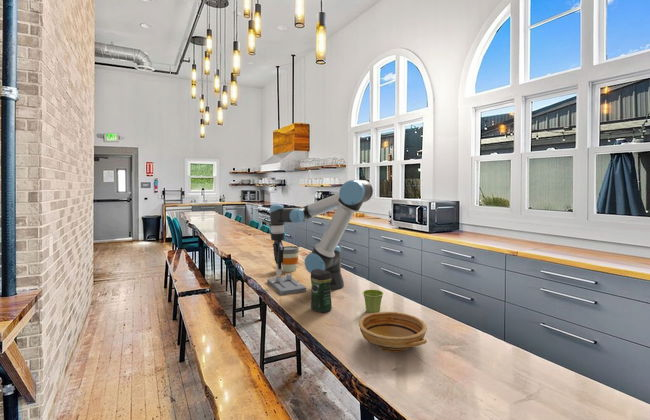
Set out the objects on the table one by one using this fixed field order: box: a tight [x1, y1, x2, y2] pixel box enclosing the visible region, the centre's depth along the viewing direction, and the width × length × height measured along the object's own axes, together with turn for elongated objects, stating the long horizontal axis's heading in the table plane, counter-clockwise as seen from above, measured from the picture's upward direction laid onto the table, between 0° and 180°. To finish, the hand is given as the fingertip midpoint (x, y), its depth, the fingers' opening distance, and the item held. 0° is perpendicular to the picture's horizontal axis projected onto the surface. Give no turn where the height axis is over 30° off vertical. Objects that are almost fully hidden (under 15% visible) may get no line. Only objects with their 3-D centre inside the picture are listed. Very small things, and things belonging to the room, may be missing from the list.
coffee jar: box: [310, 269, 332, 313], centre depth 166 cm, size 10×8×19 cm
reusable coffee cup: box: [282, 245, 299, 273], centre depth 238 cm, size 13×13×15 cm
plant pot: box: [362, 289, 384, 314], centre depth 163 cm, size 9×9×9 cm
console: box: [266, 276, 307, 296], centre depth 202 cm, size 26×14×2 cm, turn 25°
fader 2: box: [285, 272, 293, 280], centre depth 208 cm, size 2×3×3 cm, turn 115°
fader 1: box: [273, 274, 282, 282], centre depth 204 cm, size 2×3×3 cm, turn 116°
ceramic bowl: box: [357, 311, 428, 353], centre depth 130 cm, size 30×24×8 cm
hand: (279, 274), depth 202 cm, fingers closed
